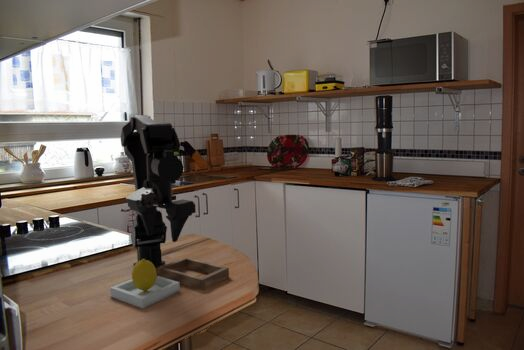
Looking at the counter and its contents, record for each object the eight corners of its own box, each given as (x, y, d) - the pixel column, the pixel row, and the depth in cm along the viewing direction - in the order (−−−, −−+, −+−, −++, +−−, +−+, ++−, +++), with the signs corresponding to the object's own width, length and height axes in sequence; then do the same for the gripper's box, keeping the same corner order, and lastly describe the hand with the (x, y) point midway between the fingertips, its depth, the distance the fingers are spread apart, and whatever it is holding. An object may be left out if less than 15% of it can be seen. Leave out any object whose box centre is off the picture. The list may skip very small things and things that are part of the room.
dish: (110, 296, 101) (110, 287, 101) (148, 281, 110) (148, 272, 110) (142, 308, 95) (142, 298, 95) (179, 291, 104) (179, 282, 104)
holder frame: (158, 277, 113) (158, 267, 113) (185, 265, 121) (185, 257, 121) (202, 290, 104) (202, 280, 104) (228, 277, 112) (228, 267, 112)
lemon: (151, 297, 99) (149, 263, 98) (129, 295, 100) (126, 262, 99) (161, 287, 105) (159, 255, 104) (139, 286, 106) (137, 254, 105)
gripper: (107, 176, 104) (110, 239, 106) (158, 184, 93) (161, 254, 95) (145, 170, 112) (147, 229, 115) (196, 177, 101) (198, 242, 104)
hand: (162, 238), depth 107 cm, fingers open, 9 cm apart
